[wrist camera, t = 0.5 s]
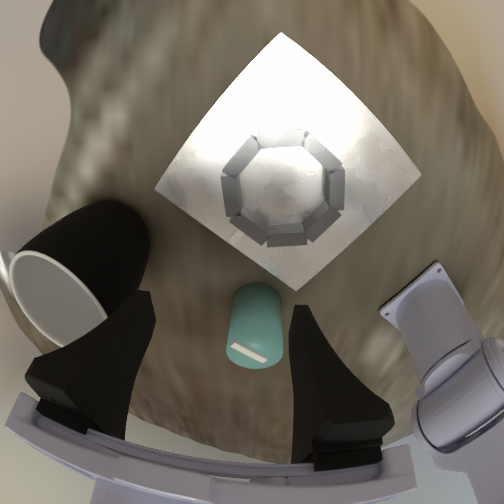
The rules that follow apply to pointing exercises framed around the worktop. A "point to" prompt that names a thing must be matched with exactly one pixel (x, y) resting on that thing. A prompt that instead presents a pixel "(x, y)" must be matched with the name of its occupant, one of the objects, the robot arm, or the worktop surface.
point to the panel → (288, 165)
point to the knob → (255, 327)
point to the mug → (80, 270)
